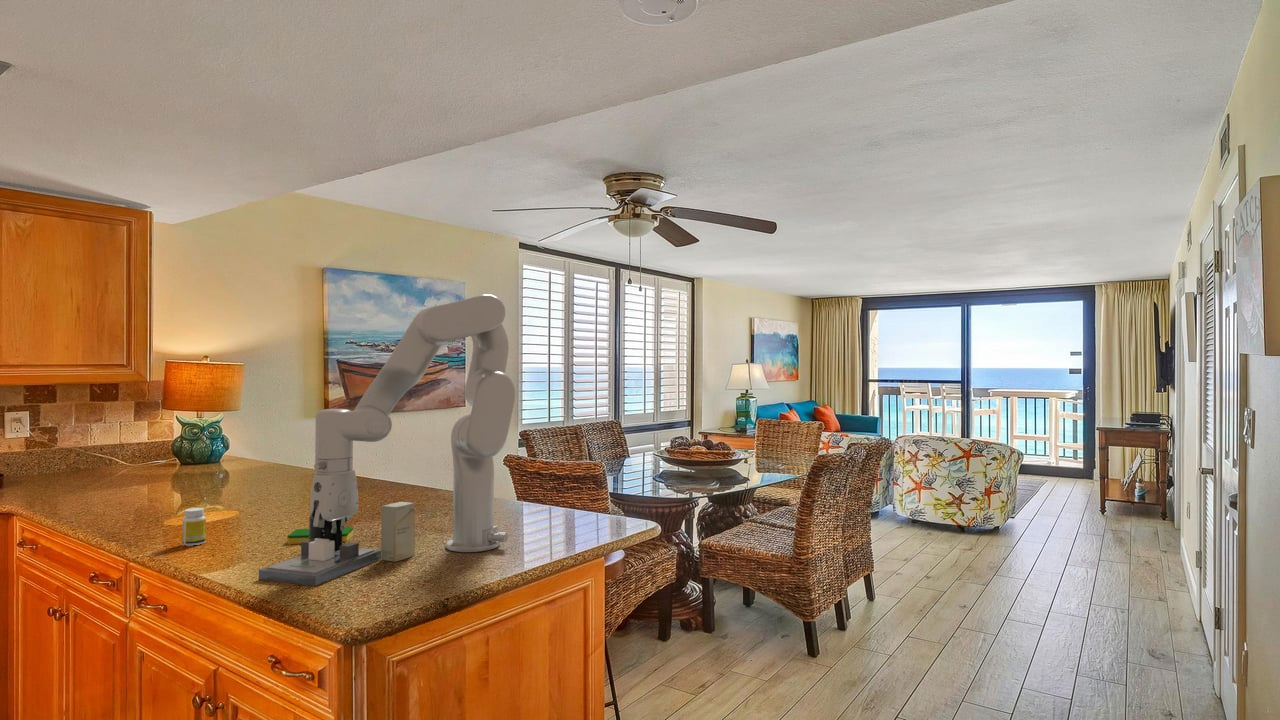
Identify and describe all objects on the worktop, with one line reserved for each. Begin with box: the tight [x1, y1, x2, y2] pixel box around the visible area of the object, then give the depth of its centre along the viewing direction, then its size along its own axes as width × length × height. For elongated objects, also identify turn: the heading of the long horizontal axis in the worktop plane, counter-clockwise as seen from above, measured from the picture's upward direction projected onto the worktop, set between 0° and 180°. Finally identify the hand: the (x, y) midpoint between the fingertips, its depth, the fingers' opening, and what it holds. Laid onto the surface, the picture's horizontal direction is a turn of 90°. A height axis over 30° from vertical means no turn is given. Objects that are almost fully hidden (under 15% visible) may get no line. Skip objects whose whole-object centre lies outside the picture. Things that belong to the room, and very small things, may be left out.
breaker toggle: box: [309, 538, 335, 561], centre depth 148 cm, size 4×3×4 cm
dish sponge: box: [286, 526, 354, 545], centre depth 174 cm, size 7×14×2 cm, turn 100°
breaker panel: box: [258, 539, 381, 587], centre depth 148 cm, size 14×20×5 cm
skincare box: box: [380, 501, 416, 563], centre depth 157 cm, size 6×4×12 cm
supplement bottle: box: [182, 507, 207, 547], centre depth 169 cm, size 5×5×8 cm
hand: (333, 549), depth 151 cm, fingers closed
